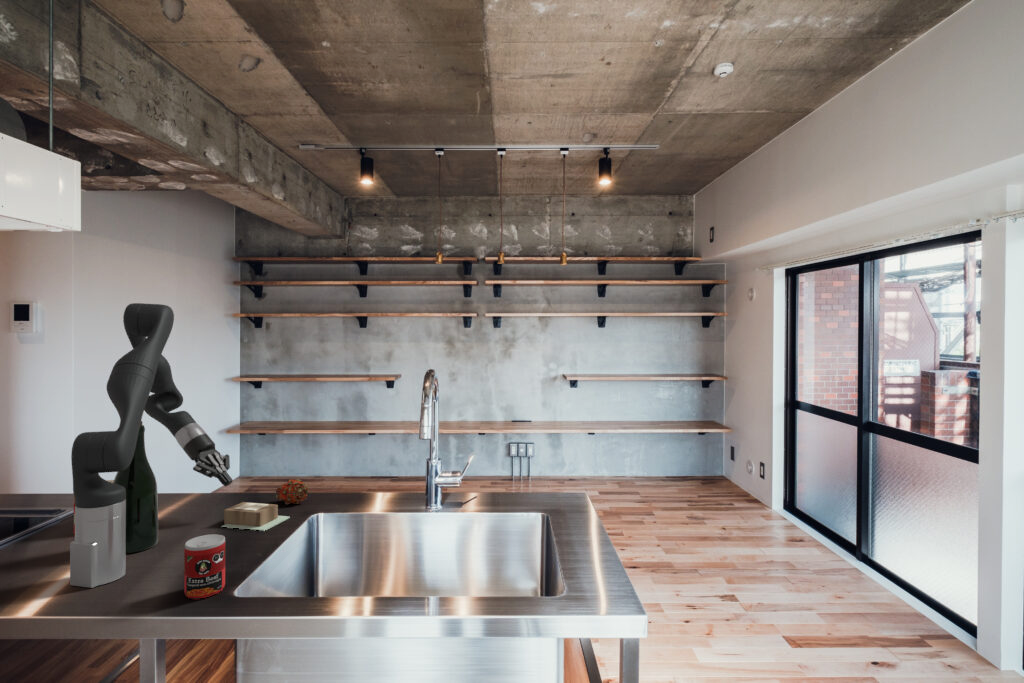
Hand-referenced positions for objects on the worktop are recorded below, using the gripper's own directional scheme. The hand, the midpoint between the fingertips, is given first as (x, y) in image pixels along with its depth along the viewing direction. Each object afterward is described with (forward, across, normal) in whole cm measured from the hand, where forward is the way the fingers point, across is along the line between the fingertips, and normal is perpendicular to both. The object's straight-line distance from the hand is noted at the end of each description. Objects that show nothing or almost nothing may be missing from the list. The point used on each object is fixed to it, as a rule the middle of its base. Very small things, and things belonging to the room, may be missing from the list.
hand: (229, 483), depth 164 cm
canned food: (+28, -41, -13) cm, 51 cm away
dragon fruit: (+13, +20, +2) cm, 24 cm away
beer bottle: (+2, -24, +14) cm, 28 cm away
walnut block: (+7, 0, +5) cm, 9 cm away
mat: (+14, 0, +1) cm, 14 cm away
